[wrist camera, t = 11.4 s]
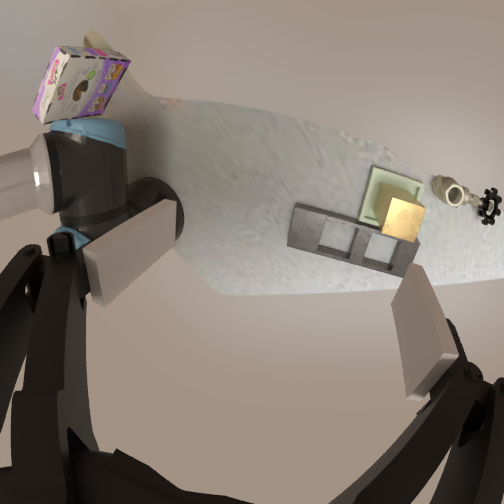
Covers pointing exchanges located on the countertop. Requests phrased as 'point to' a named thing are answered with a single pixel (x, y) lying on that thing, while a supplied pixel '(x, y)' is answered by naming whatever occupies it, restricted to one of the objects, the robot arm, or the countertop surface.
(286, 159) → the countertop surface
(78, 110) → the candy box
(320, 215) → the grey slotted holder
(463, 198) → the valve
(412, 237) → the wooden block
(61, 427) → the robot arm
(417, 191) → the tray
